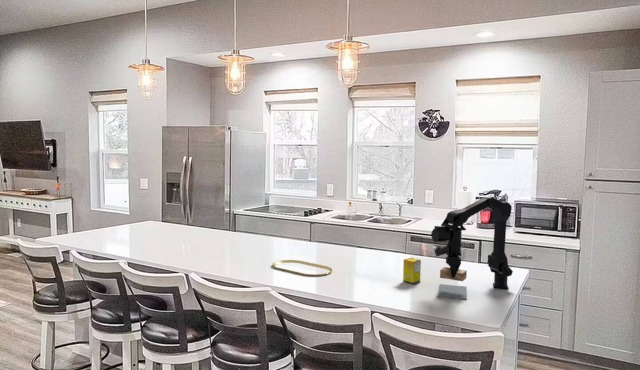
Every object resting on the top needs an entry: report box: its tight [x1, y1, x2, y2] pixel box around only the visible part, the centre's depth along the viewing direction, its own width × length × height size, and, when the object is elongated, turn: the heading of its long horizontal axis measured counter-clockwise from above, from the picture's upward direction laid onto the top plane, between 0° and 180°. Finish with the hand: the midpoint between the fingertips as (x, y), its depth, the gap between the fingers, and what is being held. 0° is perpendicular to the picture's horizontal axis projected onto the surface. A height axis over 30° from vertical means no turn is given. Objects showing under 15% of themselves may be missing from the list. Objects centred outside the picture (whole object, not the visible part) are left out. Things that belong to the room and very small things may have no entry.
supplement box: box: [402, 257, 422, 285], centre depth 224 cm, size 6×6×11 cm
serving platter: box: [272, 259, 333, 277], centre depth 246 cm, size 19×35×2 cm, turn 52°
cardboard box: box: [439, 266, 468, 282], centre depth 209 cm, size 10×6×4 cm, turn 58°
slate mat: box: [437, 283, 468, 301], centre depth 209 cm, size 18×12×1 cm, turn 163°
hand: (453, 275), depth 209 cm, fingers closed on cardboard box, 7 cm apart
